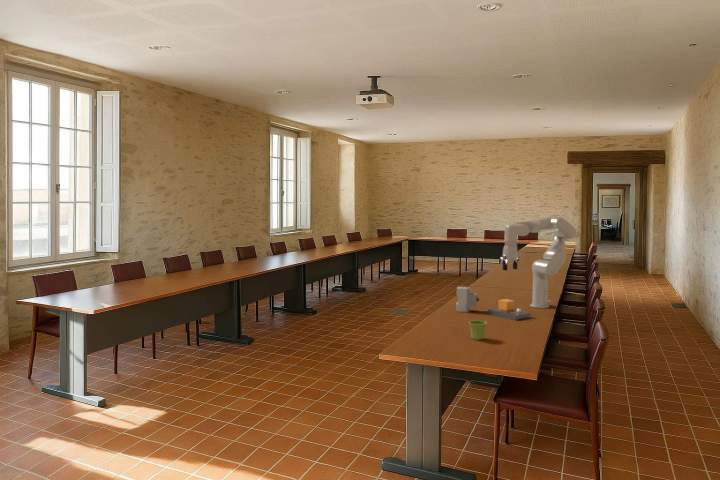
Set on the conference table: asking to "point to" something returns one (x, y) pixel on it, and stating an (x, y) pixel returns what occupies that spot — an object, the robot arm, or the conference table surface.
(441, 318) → the conference table surface
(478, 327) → the plant pot
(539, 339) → the conference table surface
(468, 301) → the circuit breaker
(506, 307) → the cap
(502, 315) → the panel
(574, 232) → the robot arm
